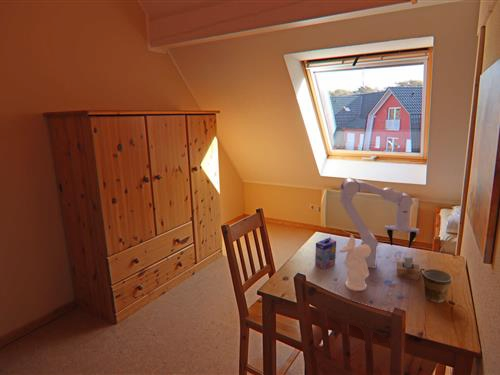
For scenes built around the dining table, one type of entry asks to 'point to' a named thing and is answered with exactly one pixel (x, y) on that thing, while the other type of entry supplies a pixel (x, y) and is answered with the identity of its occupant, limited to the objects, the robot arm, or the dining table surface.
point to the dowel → (408, 262)
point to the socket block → (408, 270)
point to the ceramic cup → (436, 284)
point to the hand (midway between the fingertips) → (400, 245)
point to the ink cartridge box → (325, 253)
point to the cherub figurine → (356, 265)
